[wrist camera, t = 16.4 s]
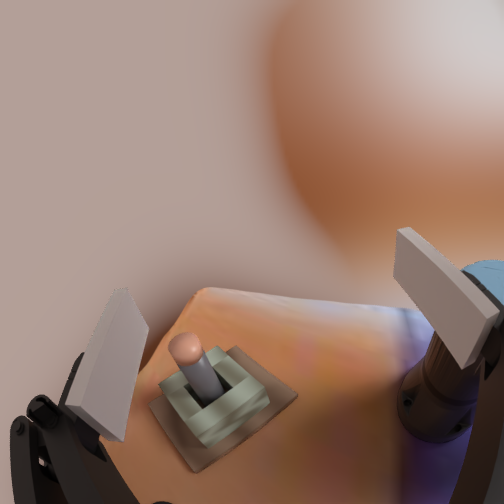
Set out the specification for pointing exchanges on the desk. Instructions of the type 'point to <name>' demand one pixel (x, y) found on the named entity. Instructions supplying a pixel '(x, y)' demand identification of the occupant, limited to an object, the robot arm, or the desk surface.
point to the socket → (220, 407)
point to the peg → (196, 367)
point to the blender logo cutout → (161, 503)
